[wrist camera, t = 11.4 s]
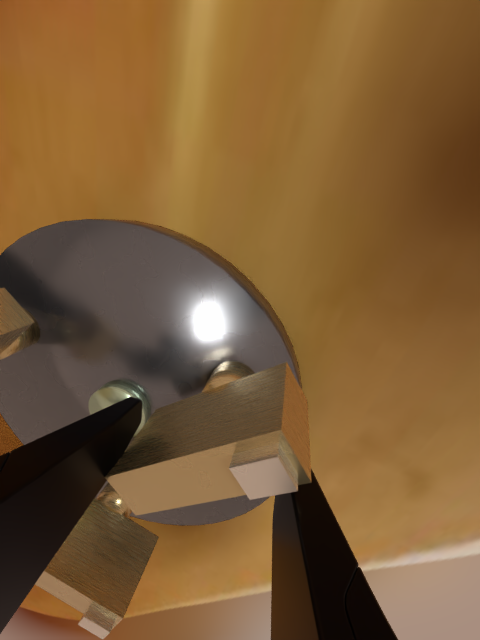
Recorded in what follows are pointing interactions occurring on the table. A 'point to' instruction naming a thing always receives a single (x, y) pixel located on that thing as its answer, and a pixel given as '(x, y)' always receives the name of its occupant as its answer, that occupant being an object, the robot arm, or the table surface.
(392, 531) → the table surface
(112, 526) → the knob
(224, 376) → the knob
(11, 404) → the plate
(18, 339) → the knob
